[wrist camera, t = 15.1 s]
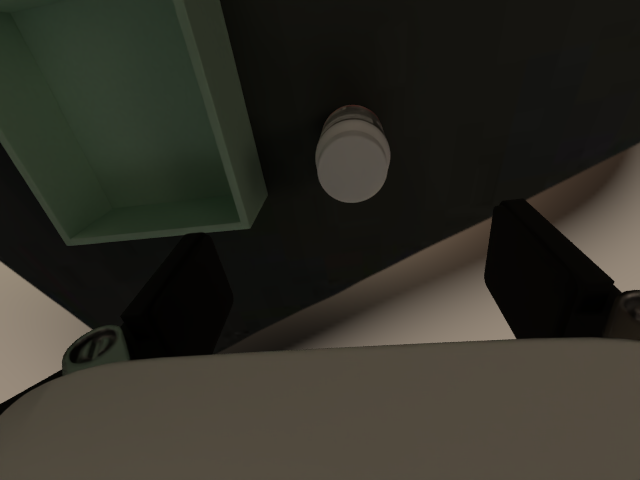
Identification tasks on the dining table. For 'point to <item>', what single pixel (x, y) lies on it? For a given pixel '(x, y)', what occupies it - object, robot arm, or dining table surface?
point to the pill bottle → (352, 154)
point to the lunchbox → (127, 117)
